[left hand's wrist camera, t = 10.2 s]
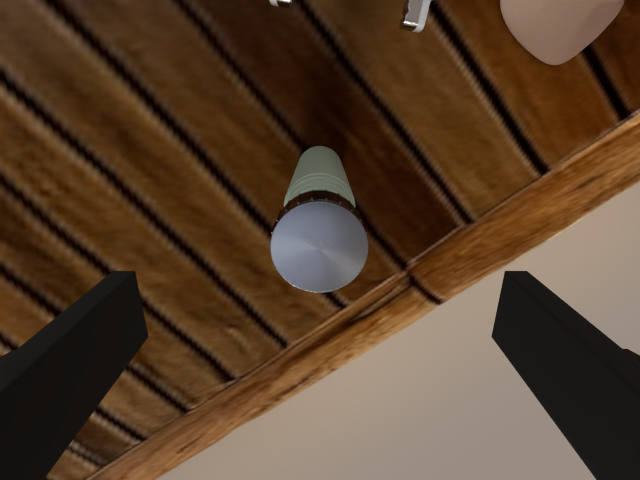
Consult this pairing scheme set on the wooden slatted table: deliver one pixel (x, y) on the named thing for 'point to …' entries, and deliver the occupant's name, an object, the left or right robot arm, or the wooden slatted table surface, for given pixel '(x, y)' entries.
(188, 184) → the wooden slatted table surface
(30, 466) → the left robot arm
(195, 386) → the wooden slatted table surface
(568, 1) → the anatomical model
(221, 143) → the wooden slatted table surface
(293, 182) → the bottle
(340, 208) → the cap
